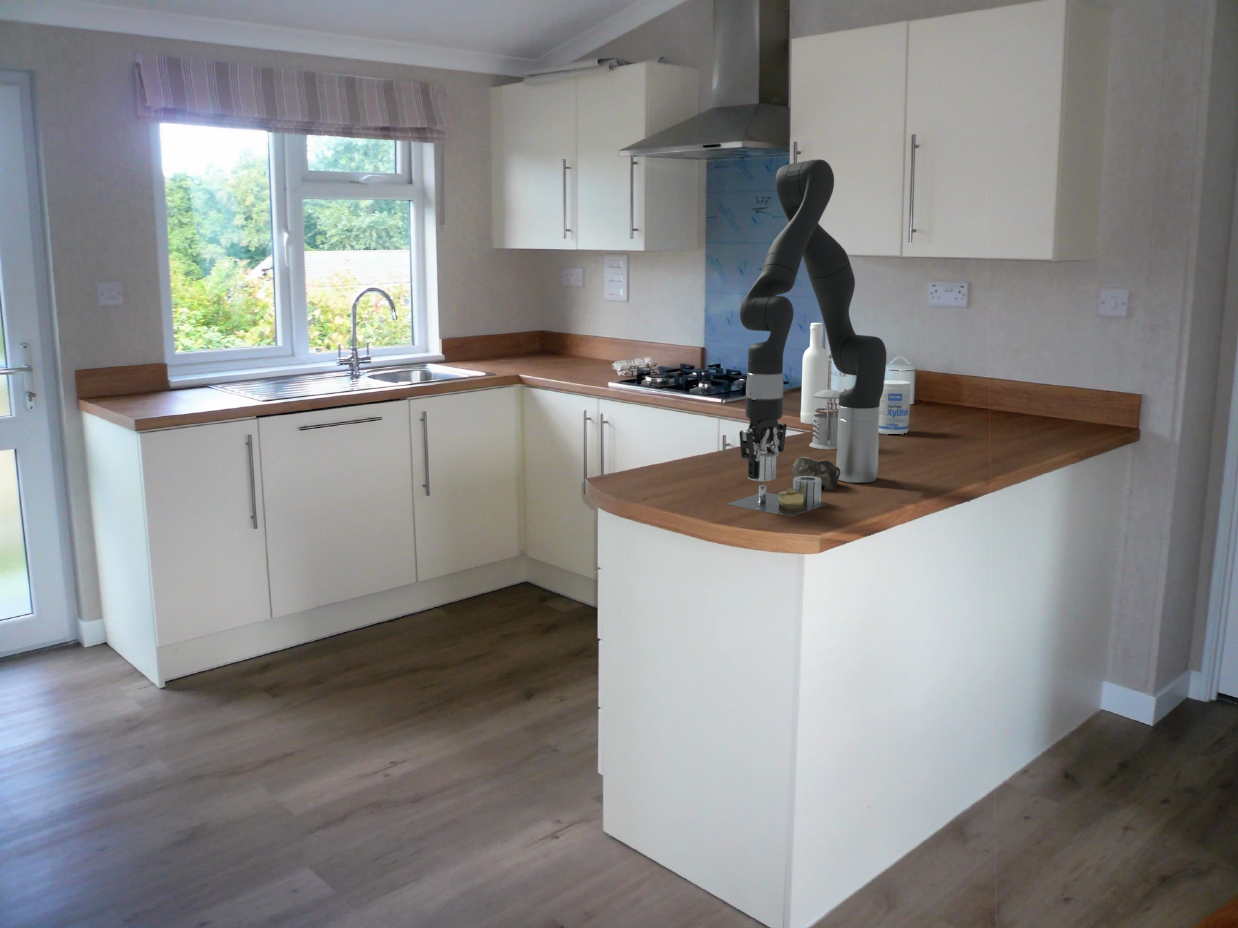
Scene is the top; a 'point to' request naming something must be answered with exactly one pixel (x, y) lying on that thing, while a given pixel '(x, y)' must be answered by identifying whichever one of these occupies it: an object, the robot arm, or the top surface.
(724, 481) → the top surface
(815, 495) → the grey hollow pipe
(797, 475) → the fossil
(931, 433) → the top surface
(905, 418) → the supplement tub
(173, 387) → the top surface
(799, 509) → the carrier
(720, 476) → the top surface
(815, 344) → the bottle
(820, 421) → the french press
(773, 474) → the planet gear
